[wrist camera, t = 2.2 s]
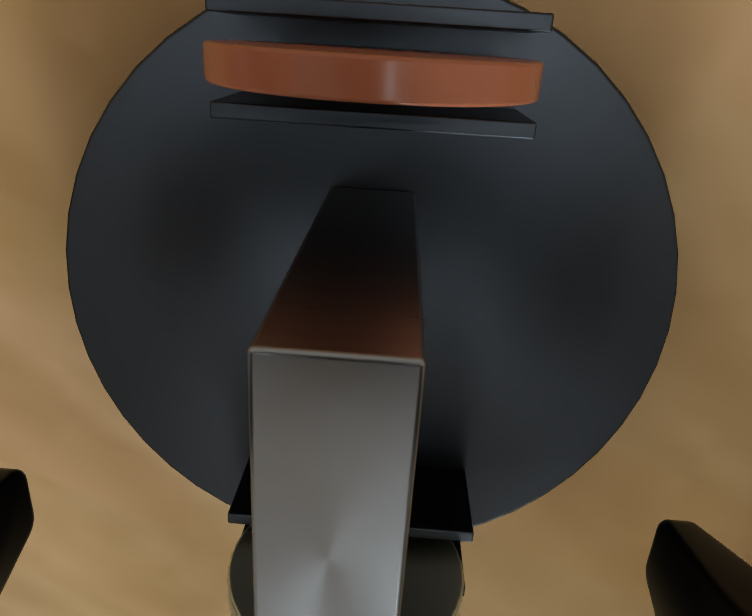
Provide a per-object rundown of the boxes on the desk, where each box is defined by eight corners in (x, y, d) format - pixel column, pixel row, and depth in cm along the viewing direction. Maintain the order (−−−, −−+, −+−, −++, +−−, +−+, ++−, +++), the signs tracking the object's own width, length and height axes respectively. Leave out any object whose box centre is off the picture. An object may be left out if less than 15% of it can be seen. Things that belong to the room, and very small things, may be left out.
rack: (741, -8, 13) (1295, -81, 5) (600, 540, 19) (745, 921, 11) (38, -51, 14) (-539, -189, 5) (113, 502, 20) (-104, 845, 11)
